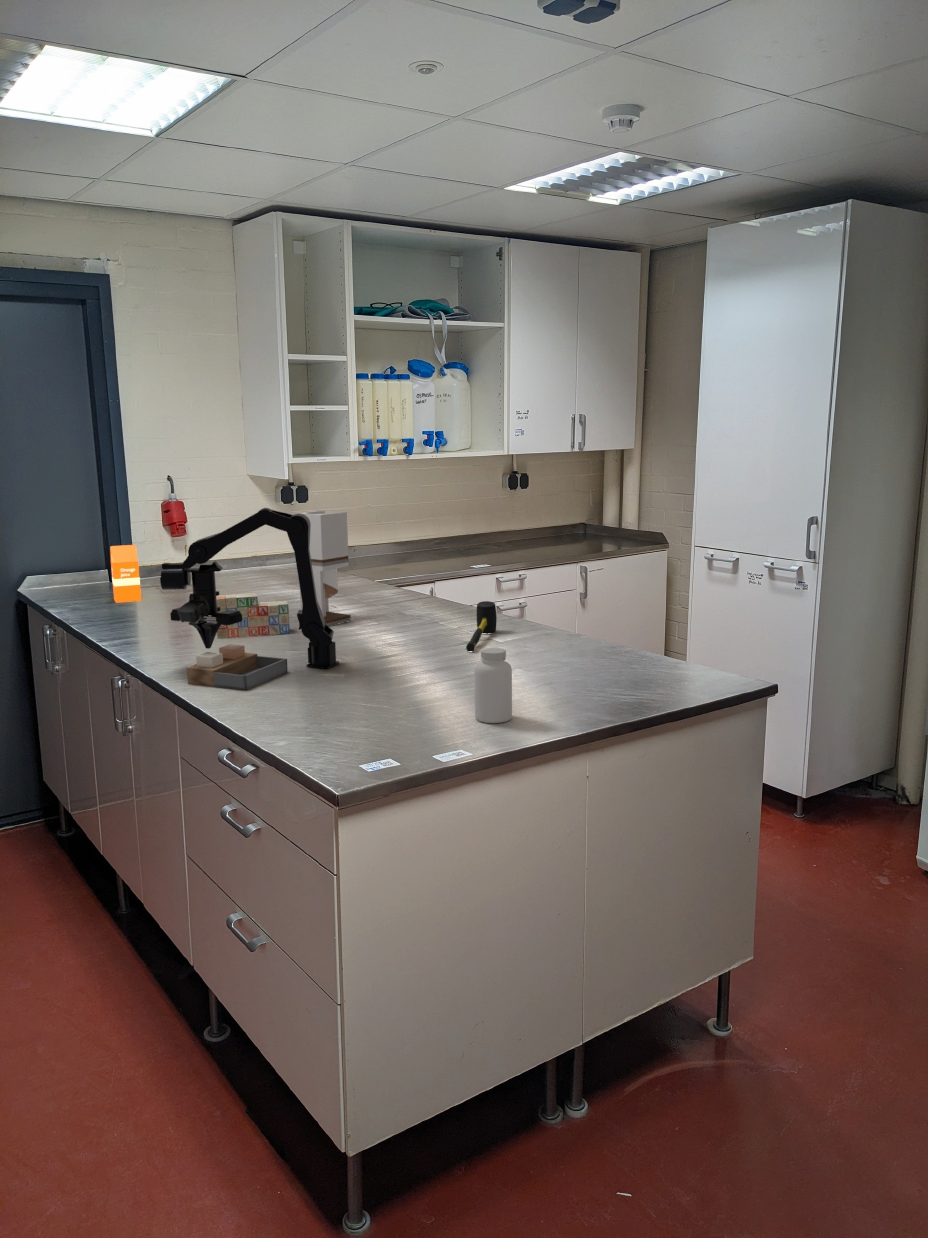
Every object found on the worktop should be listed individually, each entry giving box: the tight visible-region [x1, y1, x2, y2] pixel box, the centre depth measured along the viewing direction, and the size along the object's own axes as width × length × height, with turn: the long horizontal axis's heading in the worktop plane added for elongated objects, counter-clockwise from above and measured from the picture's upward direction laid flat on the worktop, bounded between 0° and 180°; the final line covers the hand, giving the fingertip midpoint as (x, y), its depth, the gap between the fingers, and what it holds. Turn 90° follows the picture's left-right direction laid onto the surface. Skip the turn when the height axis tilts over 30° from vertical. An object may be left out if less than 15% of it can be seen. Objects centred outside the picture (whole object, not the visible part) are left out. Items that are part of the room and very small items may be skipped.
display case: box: [295, 510, 352, 627], centre depth 298 cm, size 11×11×35 cm
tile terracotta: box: [218, 643, 246, 659], centre depth 241 cm, size 4×4×2 cm
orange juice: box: [110, 544, 142, 604], centre depth 342 cm, size 8×9×20 cm
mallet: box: [465, 600, 498, 652], centre depth 272 cm, size 29×6×10 cm, turn 169°
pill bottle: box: [473, 647, 513, 724], centre depth 200 cm, size 8×8×15 cm
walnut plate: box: [186, 652, 258, 688], centre depth 238 cm, size 8×18×4 cm, turn 157°
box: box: [214, 655, 289, 691], centre depth 234 cm, size 9×18×4 cm, turn 157°
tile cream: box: [195, 651, 223, 668], centre depth 233 cm, size 4×4×2 cm
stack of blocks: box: [216, 592, 291, 640], centre depth 284 cm, size 21×6×12 cm, turn 106°
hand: (208, 648), depth 244 cm, fingers closed
